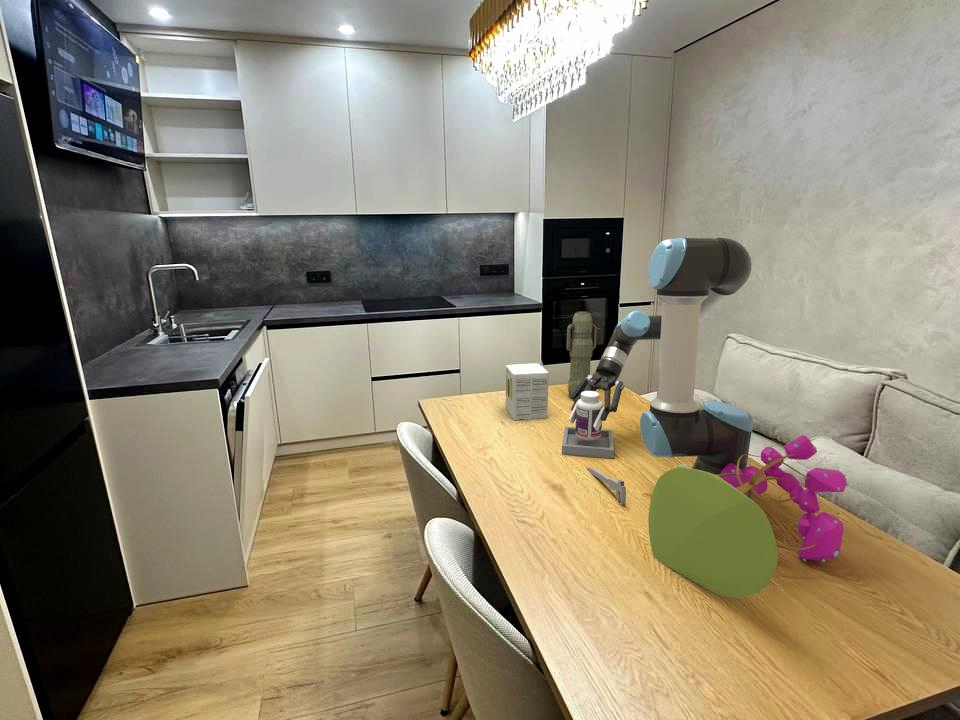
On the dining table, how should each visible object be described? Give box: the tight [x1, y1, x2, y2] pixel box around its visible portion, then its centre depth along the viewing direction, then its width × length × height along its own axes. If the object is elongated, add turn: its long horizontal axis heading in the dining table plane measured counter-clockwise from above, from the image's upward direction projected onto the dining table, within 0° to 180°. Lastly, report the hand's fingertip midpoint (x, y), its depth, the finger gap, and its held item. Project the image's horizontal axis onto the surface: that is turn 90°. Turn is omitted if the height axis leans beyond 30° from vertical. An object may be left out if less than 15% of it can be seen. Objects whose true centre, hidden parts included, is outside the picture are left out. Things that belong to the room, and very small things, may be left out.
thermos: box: [566, 310, 598, 400], centre depth 199 cm, size 9×12×35 cm
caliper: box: [586, 466, 627, 506], centre depth 133 cm, size 20×1×6 cm, turn 14°
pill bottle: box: [575, 391, 604, 440], centre depth 156 cm, size 8×8×14 cm
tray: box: [561, 426, 615, 459], centre depth 158 cm, size 15×15×3 cm
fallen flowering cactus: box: [647, 434, 850, 598], centre depth 104 cm, size 30×28×35 cm
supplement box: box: [505, 362, 550, 421], centre depth 185 cm, size 13×13×18 cm
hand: (583, 424), depth 154 cm, fingers closed on pill bottle, 8 cm apart
